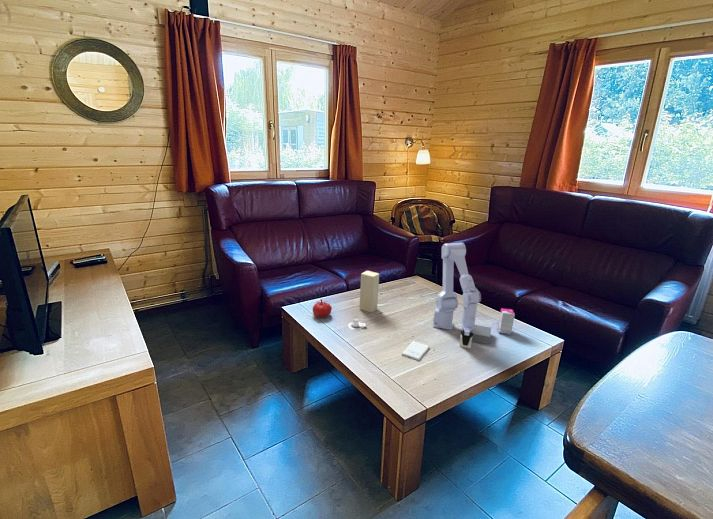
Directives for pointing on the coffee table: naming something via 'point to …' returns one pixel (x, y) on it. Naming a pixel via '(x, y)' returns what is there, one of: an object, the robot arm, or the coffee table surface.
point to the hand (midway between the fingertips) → (465, 342)
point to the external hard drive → (415, 350)
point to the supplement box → (506, 321)
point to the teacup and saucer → (356, 323)
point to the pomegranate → (321, 309)
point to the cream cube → (465, 345)
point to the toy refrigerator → (369, 291)
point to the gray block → (481, 334)
